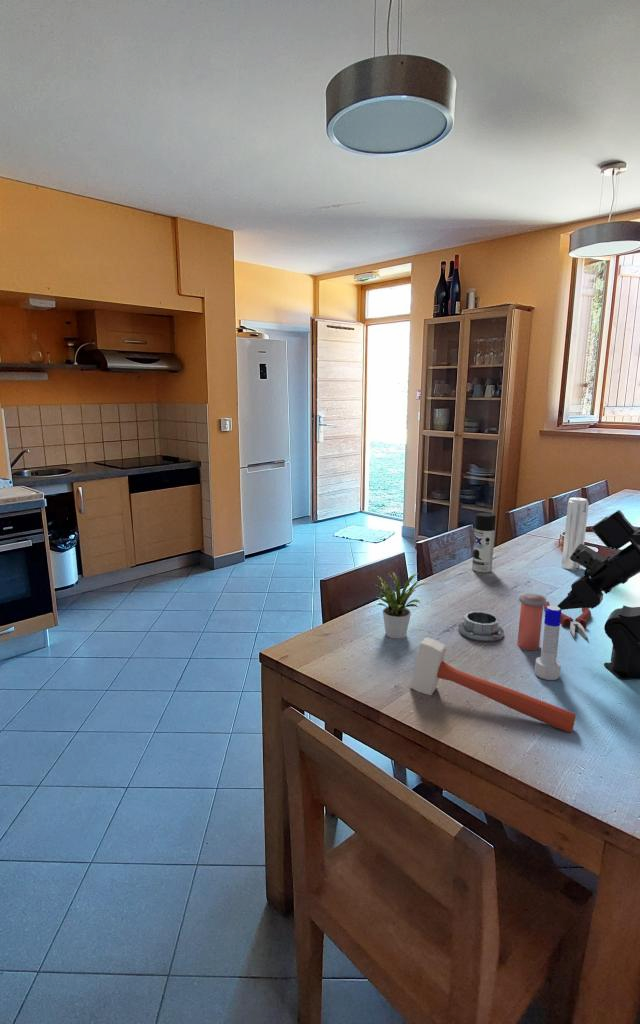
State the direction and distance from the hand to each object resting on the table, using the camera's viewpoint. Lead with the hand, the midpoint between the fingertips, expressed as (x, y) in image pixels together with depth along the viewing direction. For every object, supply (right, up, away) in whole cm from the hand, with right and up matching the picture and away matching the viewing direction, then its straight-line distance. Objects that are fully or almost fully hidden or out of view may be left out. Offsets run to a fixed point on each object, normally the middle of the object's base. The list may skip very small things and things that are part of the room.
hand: (563, 601), depth 123 cm
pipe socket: (-15, -10, +14) cm, 23 cm away
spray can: (0, 0, +63) cm, 63 cm away
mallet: (-24, -18, -19) cm, 35 cm away
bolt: (-7, -15, -7) cm, 18 cm away
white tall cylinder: (+33, +1, +67) cm, 74 cm away
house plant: (-36, -11, +13) cm, 39 cm away
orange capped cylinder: (-6, -12, +7) cm, 15 cm away
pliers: (+10, -10, +21) cm, 25 cm away
